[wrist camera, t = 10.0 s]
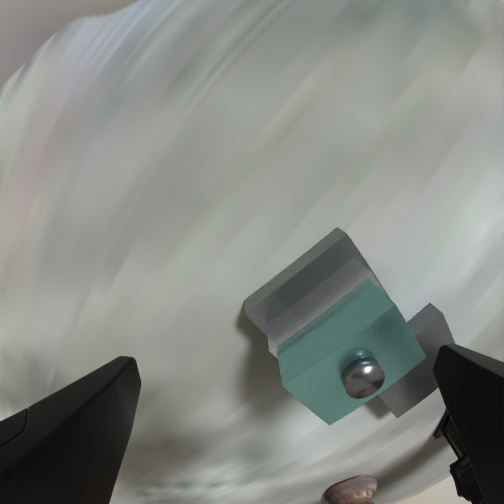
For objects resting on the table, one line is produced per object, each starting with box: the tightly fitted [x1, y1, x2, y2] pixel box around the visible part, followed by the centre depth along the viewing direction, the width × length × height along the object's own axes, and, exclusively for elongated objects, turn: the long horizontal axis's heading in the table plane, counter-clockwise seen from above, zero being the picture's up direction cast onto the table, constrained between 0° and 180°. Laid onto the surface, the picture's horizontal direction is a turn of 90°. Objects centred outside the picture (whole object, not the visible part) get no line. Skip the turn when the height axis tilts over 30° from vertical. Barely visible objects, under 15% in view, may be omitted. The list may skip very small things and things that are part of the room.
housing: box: [266, 257, 426, 425], centre depth 15 cm, size 7×5×7 cm
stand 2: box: [378, 303, 455, 418], centre depth 21 cm, size 8×8×2 cm
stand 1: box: [244, 227, 389, 338], centre depth 20 cm, size 8×8×2 cm
